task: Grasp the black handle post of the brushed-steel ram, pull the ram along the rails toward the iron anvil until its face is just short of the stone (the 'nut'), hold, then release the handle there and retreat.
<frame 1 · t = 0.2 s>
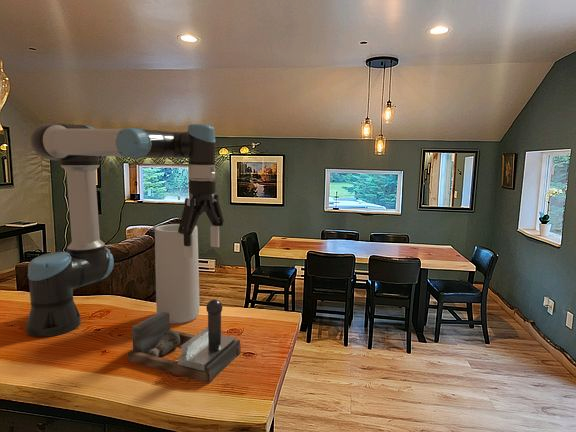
hand: (202, 251, 116), 28 cm above the kitchen island, fingers open, 13 cm apart
stone: (166, 353, 112), on the kitchen island
vase: (178, 317, 137), on the kitchen island
grey rectangular frame: (185, 357, 110), on the kitchen island
ram: (207, 330, 105), point 9 cm above the kitchen island, slide at 0.0 cm
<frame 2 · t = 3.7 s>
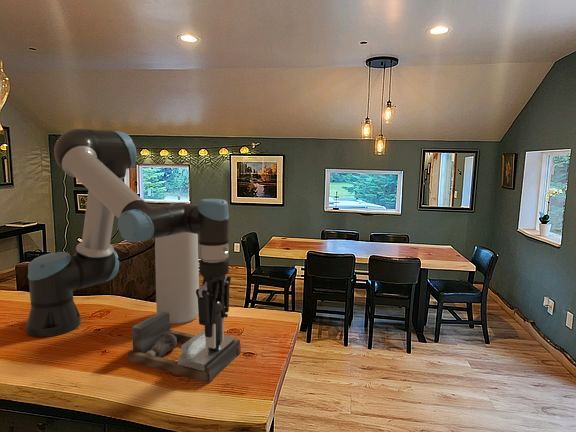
hand: (214, 343, 105), 6 cm above the kitchen island, fingers closed on ram, 3 cm apart
stone: (162, 355, 111), on the kitchen island
ram: (207, 330, 105), point 9 cm above the kitchen island, slide at 0.0 cm, touching gripper
everything else where it was.
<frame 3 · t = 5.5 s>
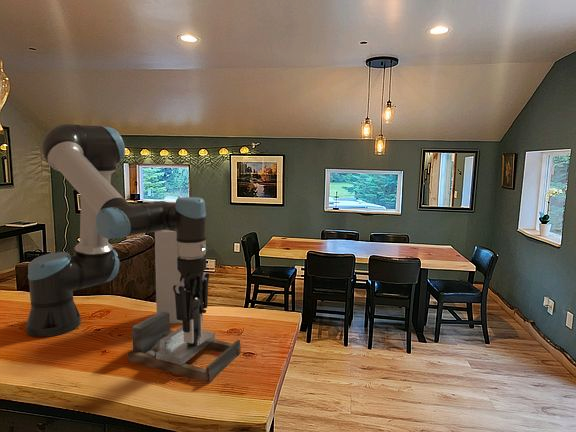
hand: (193, 338, 108), 6 cm above the kitchen island, fingers closed on ram, 3 cm apart
ram: (186, 325, 108), point 9 cm above the kitchen island, slide at 6.9 cm, touching gripper
everything else where it was.
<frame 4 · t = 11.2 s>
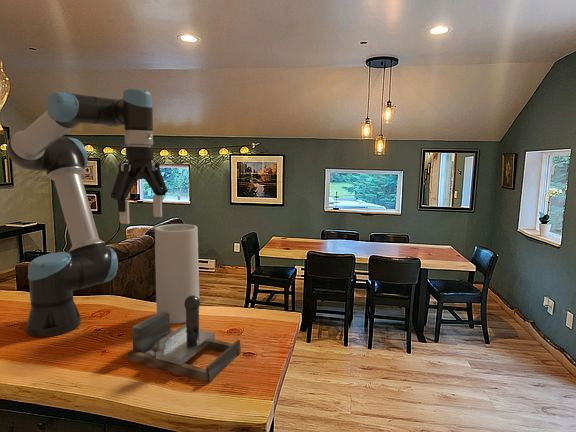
hand: (142, 219, 115), 37 cm above the kitchen island, fingers open, 13 cm apart
ram: (186, 325, 108), point 9 cm above the kitchen island, slide at 7.0 cm
everything else where it was.
at the end: ram slide at 7.0 cm; stone moved 1.3 cm from its start; the gripper is holding nothing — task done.
